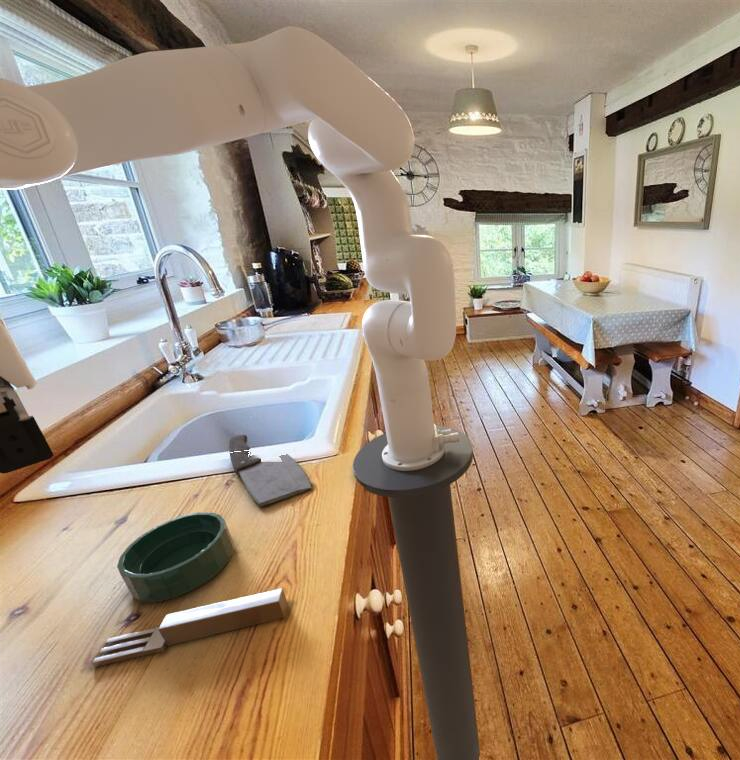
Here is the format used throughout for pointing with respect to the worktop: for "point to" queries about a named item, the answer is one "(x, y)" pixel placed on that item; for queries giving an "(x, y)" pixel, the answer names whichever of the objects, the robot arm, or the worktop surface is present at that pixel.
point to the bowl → (176, 556)
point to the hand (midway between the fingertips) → (19, 448)
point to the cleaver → (267, 474)
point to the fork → (196, 625)
